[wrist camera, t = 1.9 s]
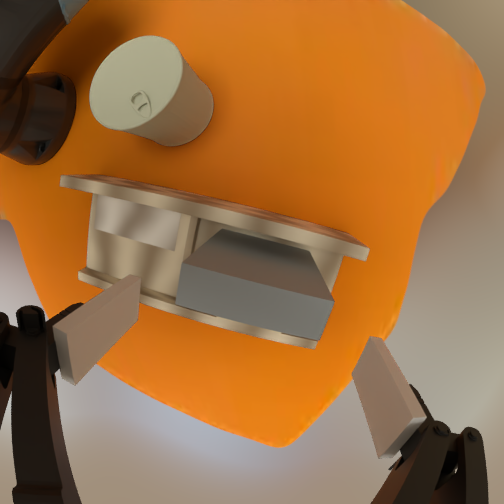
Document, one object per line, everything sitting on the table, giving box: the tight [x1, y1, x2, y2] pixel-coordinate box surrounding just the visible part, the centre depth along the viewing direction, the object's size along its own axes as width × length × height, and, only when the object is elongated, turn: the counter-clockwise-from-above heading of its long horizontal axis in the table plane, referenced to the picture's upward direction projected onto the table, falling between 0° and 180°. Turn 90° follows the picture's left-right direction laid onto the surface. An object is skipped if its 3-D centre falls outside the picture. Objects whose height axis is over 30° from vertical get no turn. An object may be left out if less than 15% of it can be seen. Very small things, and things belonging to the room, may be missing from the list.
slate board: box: [175, 228, 335, 340], centre depth 24 cm, size 10×3×14 cm, turn 76°
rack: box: [60, 175, 370, 349], centre depth 29 cm, size 32×14×8 cm, turn 76°
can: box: [89, 36, 214, 146], centre depth 23 cm, size 9×9×12 cm
